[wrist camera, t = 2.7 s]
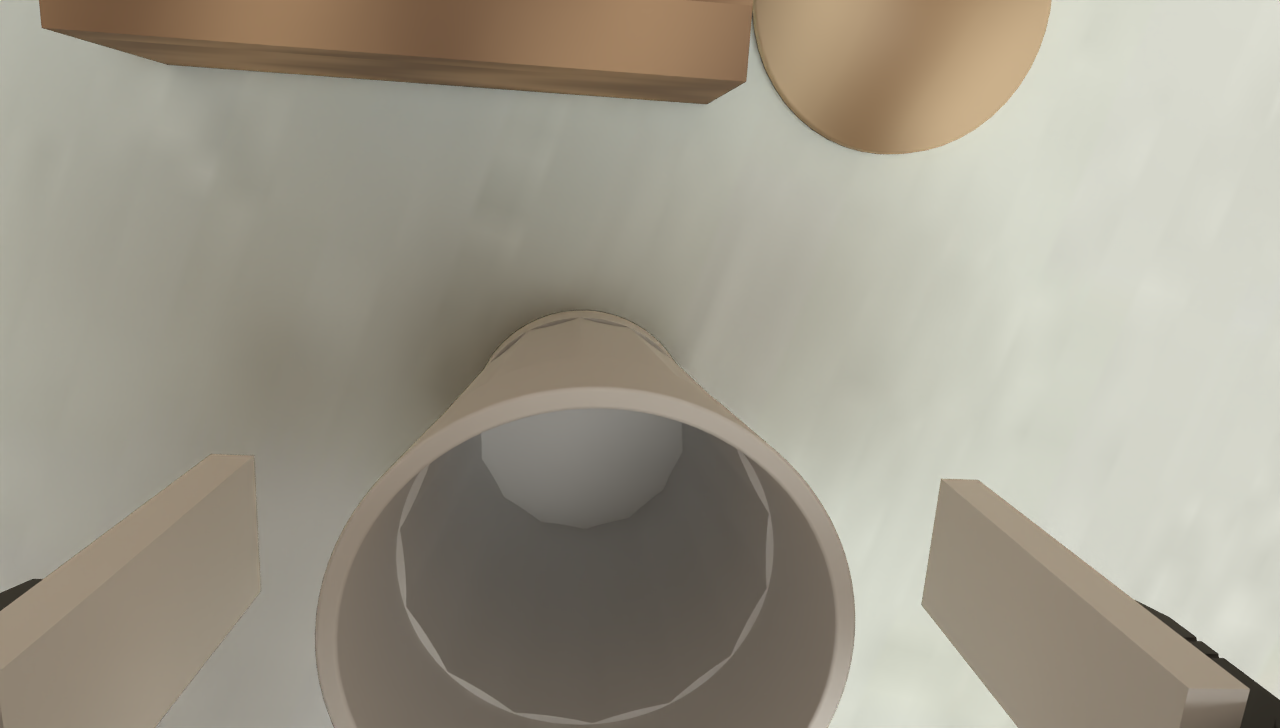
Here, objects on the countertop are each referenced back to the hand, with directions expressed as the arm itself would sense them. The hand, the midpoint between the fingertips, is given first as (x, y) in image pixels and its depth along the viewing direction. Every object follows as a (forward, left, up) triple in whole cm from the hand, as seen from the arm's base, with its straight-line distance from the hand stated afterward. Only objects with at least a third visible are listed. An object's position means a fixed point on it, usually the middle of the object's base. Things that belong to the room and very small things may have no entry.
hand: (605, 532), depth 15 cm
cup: (0, 0, -9) cm, 9 cm away
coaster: (+8, +12, -8) cm, 16 cm away
